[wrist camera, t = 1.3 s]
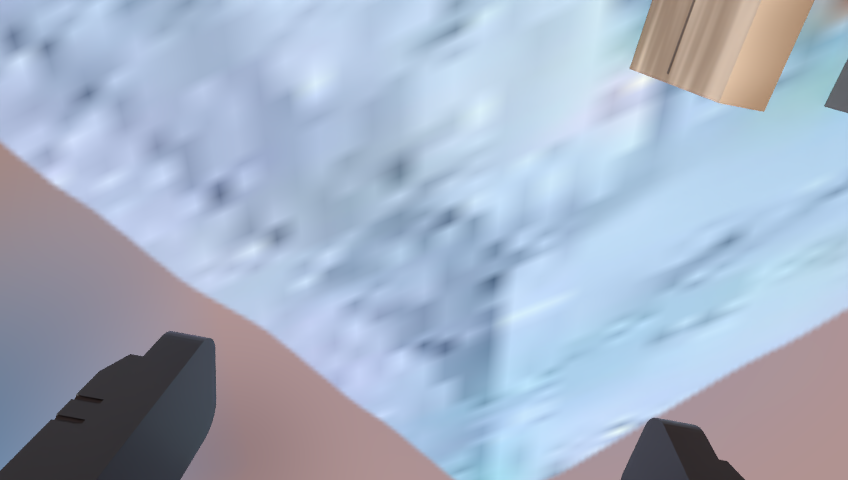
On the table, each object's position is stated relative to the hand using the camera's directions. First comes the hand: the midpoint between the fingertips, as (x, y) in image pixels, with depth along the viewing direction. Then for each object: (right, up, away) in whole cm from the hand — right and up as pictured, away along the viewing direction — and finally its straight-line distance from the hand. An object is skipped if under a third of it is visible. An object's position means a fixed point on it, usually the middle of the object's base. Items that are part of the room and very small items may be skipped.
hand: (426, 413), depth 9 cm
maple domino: (+14, +16, +20) cm, 29 cm away
